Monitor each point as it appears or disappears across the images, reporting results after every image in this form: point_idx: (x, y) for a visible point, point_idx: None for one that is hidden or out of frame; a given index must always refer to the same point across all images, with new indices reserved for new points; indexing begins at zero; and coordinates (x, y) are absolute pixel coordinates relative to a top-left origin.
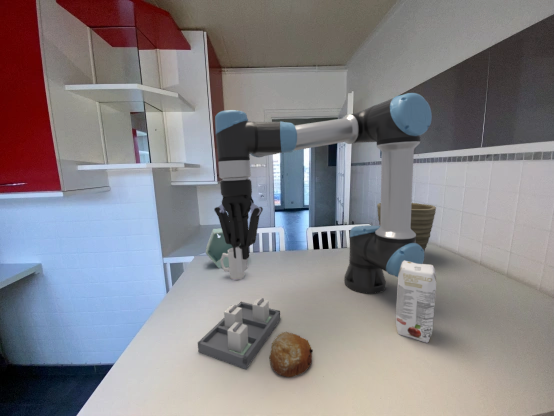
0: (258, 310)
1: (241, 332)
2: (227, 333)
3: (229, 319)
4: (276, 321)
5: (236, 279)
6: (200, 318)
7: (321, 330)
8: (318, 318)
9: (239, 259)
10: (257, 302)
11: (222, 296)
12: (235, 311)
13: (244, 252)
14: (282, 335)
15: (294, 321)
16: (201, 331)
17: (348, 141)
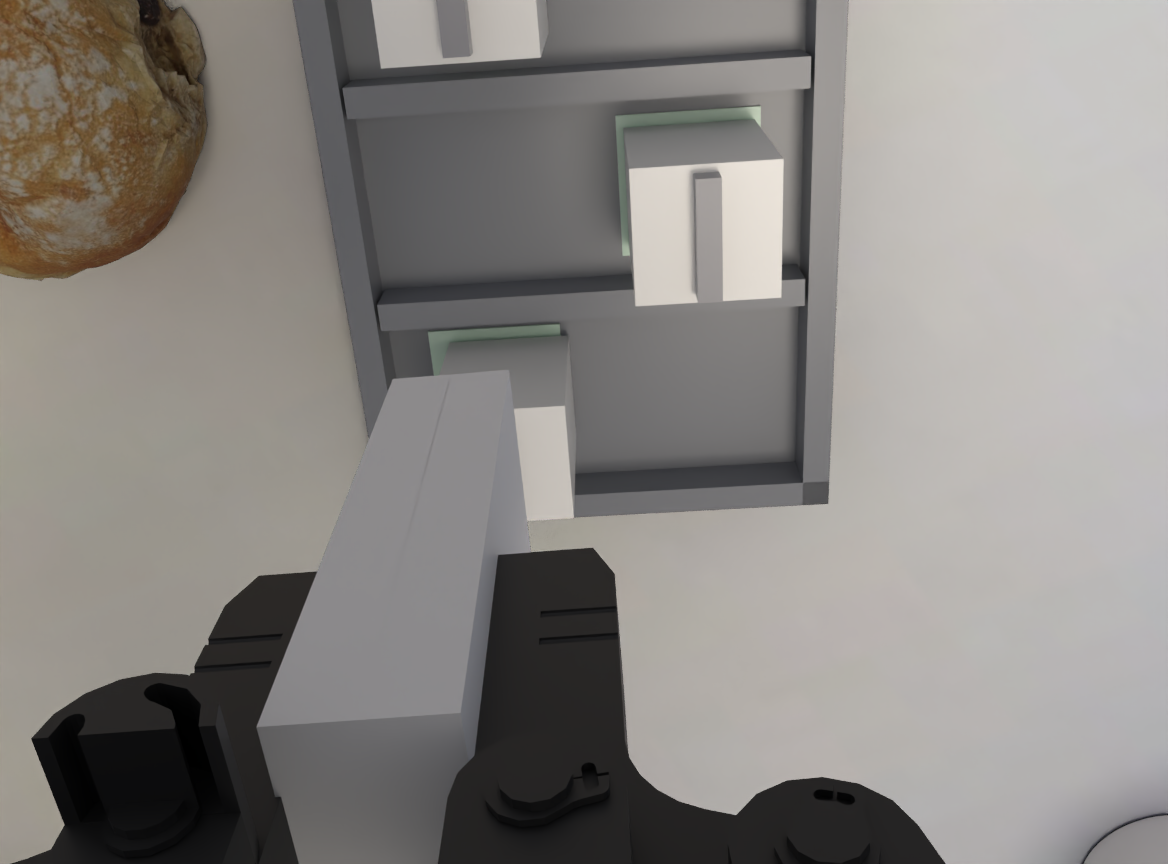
0: None
1: None
2: (678, 60)
3: (703, 146)
4: None
5: (1135, 825)
6: (1133, 176)
7: (23, 491)
8: (121, 608)
9: (391, 511)
10: (537, 459)
11: (1118, 552)
12: (661, 222)
13: (238, 692)
14: (14, 131)
15: (271, 502)
16: (995, 20)
17: None
